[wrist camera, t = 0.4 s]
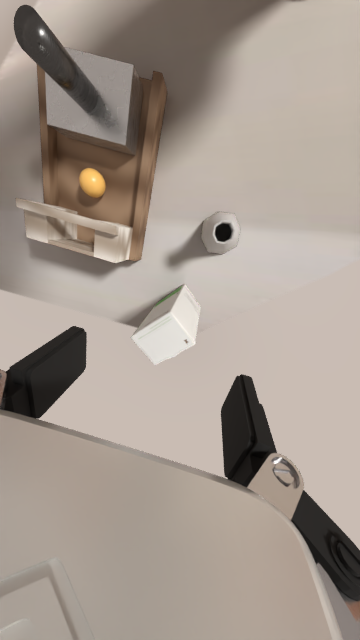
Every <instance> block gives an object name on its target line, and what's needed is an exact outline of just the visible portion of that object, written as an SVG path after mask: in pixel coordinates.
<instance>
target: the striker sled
mask: <svg viewBox="0 0 360 640" xmlns="http://www.w3.org/2000/svg"><path fill="white" fill-rule="evenodd" d="M14 30H15V35H16V38H17V41H18V43H19V45H20V46H21V48H22V49H23V50H24V51H25V52H26V53H27V54H28V55H29V56H30V57H31V58H32V59H33V60H34V61H35V62H36V63H37V64H38V65H39V66H40V67H41V68H42V69H43V70H44V71H45V84H46V109H47V124H48V125H49V126H51V127H52V128H53V129H55V130H56V131H58V132H59V133H61V134H62V135H64V136H65V137H67V138H71V139H74V140H78V141H82V142H85V143H89V144H93V145H96V146H100V147H104V148H108V149H111V150H115V151H119V152H122V153H126V154H130V155H133V156H136V148H137V139H138V131H139V122H140V114H141V105H142V97H143V88H144V87H143V85H142V83H141V81H140V78H139V76H138V74H137V72H136V70H135V67H134V65H133V64H129V63H125V62H121V61H117V60H113V59H109V58H105V57H101V56H97V55H94V54H90V53H86V52H82V51H78V50H74V49H70V48H66V47H63V45H62V44H61V43H60V42H59V40H58V39H57V38H56V36H55V35H54V34H53V32H52V31H51V30H50V29H49V27H48V26H47V25H46V23H45V22H44V21H43V20H42V18H41V17H40V16H39V14H38V13H37V12H36V11H35V10H34V9H33V8H32V7H31V6H28V5H23V6H20V7H19V8H18V10H17V11H16V14H15V17H14Z"/></svg>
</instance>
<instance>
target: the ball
mask: <svg viewBox="0 0 360 640" xmlns="http://www.w3.org/2000/svg"><path fill="white" fill-rule="evenodd" d="M79 182H80V186H81V188H82V190H83V191H84V192H85V193H86V194H87V195H89V196H90V197H94V198H97V197H100V196H102V195H103V194H104V192H105V188H106V185H105V180H104V178H103V176H102V175H101V174H100V173H99V172H98V171H97V170H95V169H92V168H86V169H84V170H83V171H82V172H81V174H80V177H79Z"/></svg>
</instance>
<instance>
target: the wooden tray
mask: <svg viewBox="0 0 360 640" xmlns="http://www.w3.org/2000/svg"><path fill="white" fill-rule="evenodd" d="M37 75H38V94H39V113H40V133H41V152H42V171H43V190H44V203H39V202H34V201H29V200H24V199H19V198H16V207H18V208H22V209H24V217H25V227H26V237H28V238H31V239H34V240H38V241H41V242H45V243H48V244H52V245H55V246H58V247H62V248H65V249H69V250H72V251H76V252H79V253H83V254H86V255H89V256H93V257H96V258H100V259H103V260H107V261H110V262H113V263H118V262H122V261H125V260H132V261H137V260H140V259H141V256H142V250H143V243H144V237H145V231H146V224H147V218H148V212H149V205H150V199H151V192H152V186H153V180H154V173H155V167H156V161H157V154H158V148H159V141H160V135H161V129H162V122H163V116H164V110H165V103H166V97H167V88H166V85H165V82H164V78H163V75H162V73H160V72H156V71H153V77H152V80H148V79H144V78H140V77H139V78H140V81H141V83H142V85H143V87H144V88H143V97H142V105H141V114H140V122H139V131H138V139H137V148H136V156H133V155H130V154H126V153H122V152H119V151H115V150H111V149H108V148H104V147H100V146H96V145H93V144H89V143H85V142H82V141H78V140H74V139H71V138H67V137H65V136H64V135H62V134H61V133H59V132H58V131H56V130H55V129H53V128H52V127H51V126H49V125H48V124H47V109H46V84H45V71H44V70H43V69H42V68H41V67H40V66H39V65H38V64H37ZM86 168H92V169H95V170H97V171H98V172H99V173H100V174H101V175H102V176H103V178H104V180H105V185H106V188H105V192H104V194H103V195H102V196H100V197H97V198H94V197H90V196H89V195H87V194H86V193H85V192H84V191H83V190H82V188H81V186H80V182H79V177H80V174H81V172H82V171H83V170H84V169H86Z"/></svg>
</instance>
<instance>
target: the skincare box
mask: <svg viewBox="0 0 360 640" xmlns="http://www.w3.org/2000/svg"><path fill="white" fill-rule="evenodd" d="M200 308H201V306H200V304H199V303H198V301H197V300H196V299H195V297H194V296H193V294H192V293H191V292H190V290H189V289H188V287H187V286H186V285H185V284H184V285H182V286H181V287H179V288H178V289H176V290H175V291H173V292H172V293H171V294H169V295H168V296H166V297H165V298H163V299H162V300H160V301H159V302H158V303H157V304H156V305H155V306H154V307H153V309H152V310H151V311H150V313H149V314H148V315H147V317H146V318H145V319H144V321H143V322H142V323H141V325H140V326H139V327H138V329H137V330H136V331H135V333H134V334H133V335H132V336H131V339H132V340H133V341H134V342H135V343H136V344H137V345H138V347H139V348H140V349H141V350H142V351H143V352H144V354H145V355H146V356H147V357H148V358H149V359H150V361H151V362H152V363H153V364H154V365H157V364H159V363H161V362H163V361H165V360H167V359H169V358H173V357H175V356H177V355H178V353H180V352H182V351H184V350H186V349H188V348H189V347H191V346H193V345H195V343H196V342H195V340H196V333H197V327H198V320H199V314H200Z"/></svg>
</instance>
